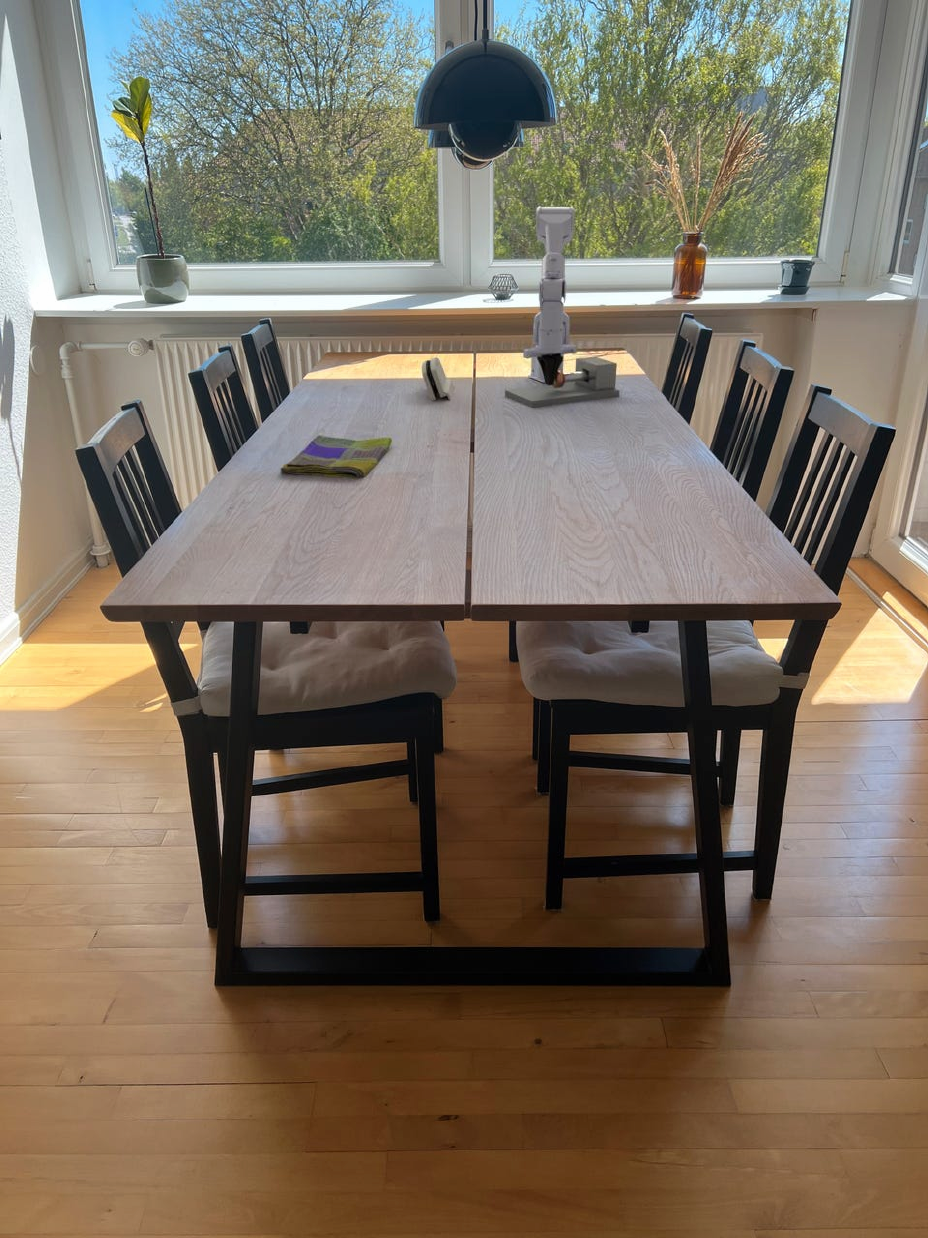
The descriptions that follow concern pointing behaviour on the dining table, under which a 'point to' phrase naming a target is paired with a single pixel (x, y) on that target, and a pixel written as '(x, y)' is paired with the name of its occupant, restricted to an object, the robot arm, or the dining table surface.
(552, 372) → the robot arm
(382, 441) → the dish towel
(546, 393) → the base plate
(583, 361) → the bearing block
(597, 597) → the dining table surface
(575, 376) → the shaft
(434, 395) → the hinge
